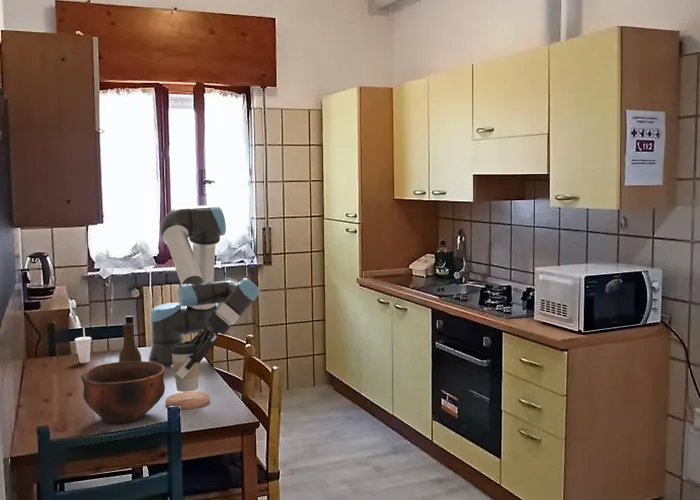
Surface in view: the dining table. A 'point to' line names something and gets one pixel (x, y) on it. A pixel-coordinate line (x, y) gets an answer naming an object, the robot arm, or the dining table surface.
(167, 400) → the saucer
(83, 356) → the smoothie
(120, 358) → the beer bottle
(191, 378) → the coffee cup
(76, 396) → the dining table surface
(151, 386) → the bowl
